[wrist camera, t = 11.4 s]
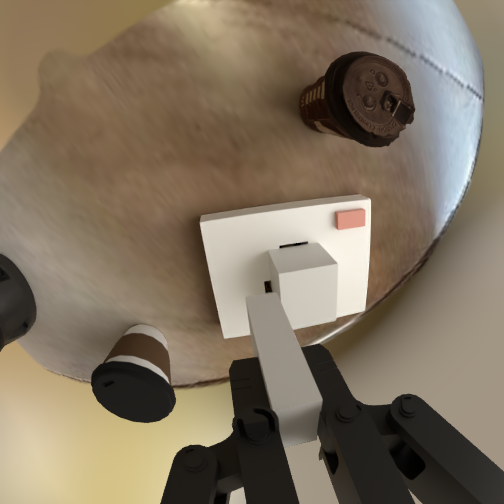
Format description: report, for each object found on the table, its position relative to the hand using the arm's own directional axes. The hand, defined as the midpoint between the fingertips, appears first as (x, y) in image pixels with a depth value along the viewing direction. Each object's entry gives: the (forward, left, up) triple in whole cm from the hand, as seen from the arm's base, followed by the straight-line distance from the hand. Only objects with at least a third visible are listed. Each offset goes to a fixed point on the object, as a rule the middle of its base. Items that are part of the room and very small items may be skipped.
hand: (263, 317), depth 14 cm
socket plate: (+6, -8, -21) cm, 23 cm away
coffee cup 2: (+12, +11, -21) cm, 27 cm away
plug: (+6, -8, -21) cm, 23 cm away
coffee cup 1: (-16, -17, -21) cm, 31 cm away
